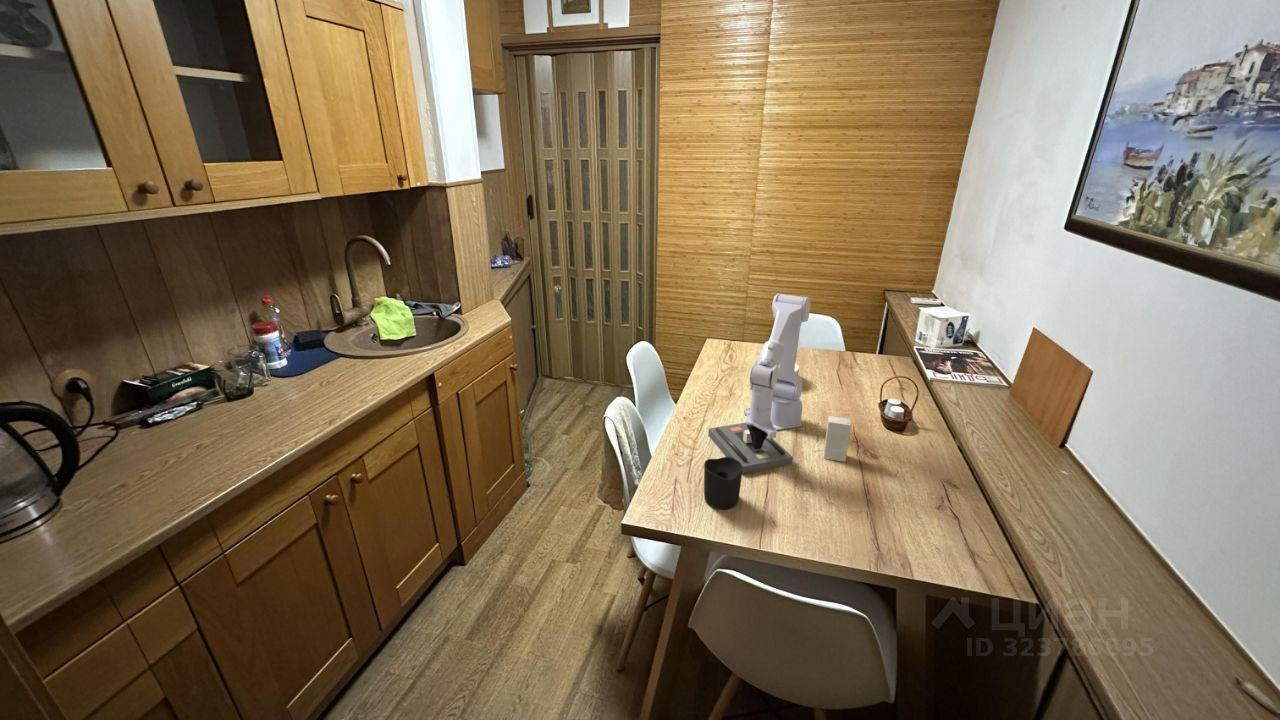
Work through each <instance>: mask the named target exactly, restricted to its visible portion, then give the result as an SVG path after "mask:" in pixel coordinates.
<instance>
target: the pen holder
mask: <svg viewBox="0 0 1280 720" xmlns="http://www.w3.org/2000/svg"><path fill="white" fill-rule="evenodd" d="M742 470H743V467H742V464H741V463H740V462H739V461H738V460H736V459H734V458H731V457H726V456H724V457H720V458H708V459H706V460H705V462H704V468H703V471H704V472H703V473H704V474H703V489H704V491H703V493H704V494H703V496H704V497H703V498H704V500H705V502H706V503H707V504H708V505H709V506H710V507H712V508H714V509H717V510H729V509H732V508H734V507H736V506H737V505H738V503H739V498H740V491H741V486H742V485H741V483H742V479H743V478H742V476H743V474H742Z"/></svg>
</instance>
